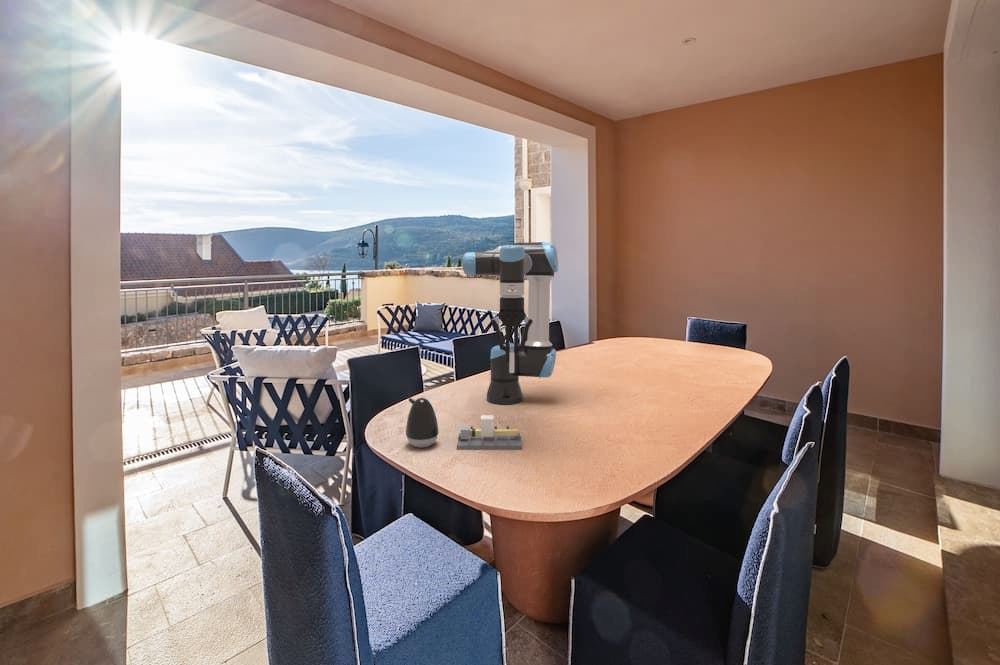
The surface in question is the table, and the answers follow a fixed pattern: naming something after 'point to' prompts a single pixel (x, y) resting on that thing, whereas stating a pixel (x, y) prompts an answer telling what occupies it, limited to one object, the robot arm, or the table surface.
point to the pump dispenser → (421, 424)
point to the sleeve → (487, 425)
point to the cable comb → (488, 439)
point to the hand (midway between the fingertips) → (511, 371)
